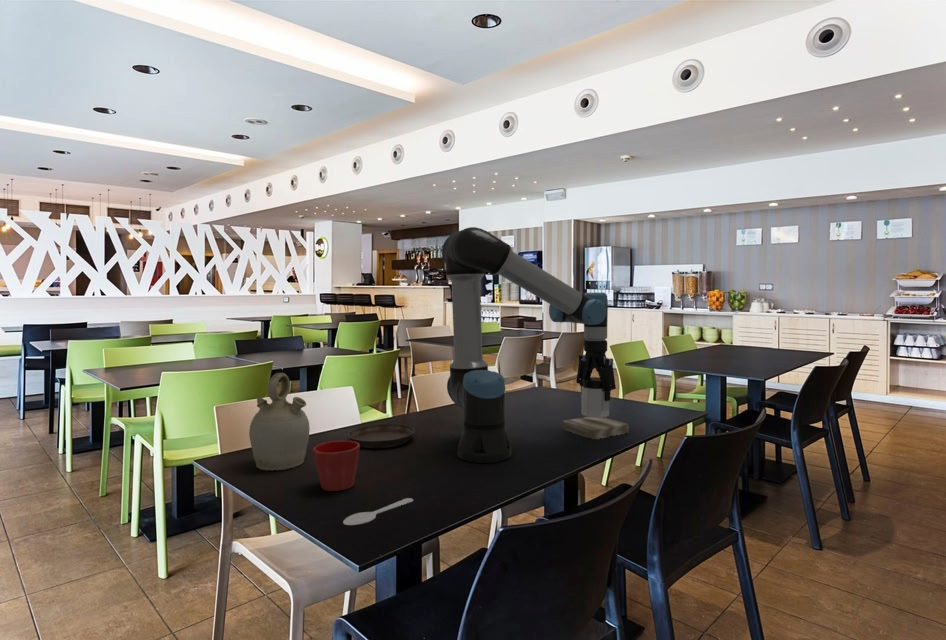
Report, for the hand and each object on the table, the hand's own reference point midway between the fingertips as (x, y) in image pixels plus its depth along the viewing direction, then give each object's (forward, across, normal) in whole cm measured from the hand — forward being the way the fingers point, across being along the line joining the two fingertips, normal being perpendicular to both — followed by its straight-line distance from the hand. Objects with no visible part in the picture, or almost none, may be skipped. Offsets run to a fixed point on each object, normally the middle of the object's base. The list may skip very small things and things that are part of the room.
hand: (595, 408), depth 182 cm
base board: (+8, 0, 0) cm, 8 cm away
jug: (+8, +20, +96) cm, 98 cm away
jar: (+3, 0, 0) cm, 3 cm away
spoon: (+9, -25, +85) cm, 89 cm away
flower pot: (+8, -5, +88) cm, 88 cm away
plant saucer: (+8, +27, +64) cm, 70 cm away
